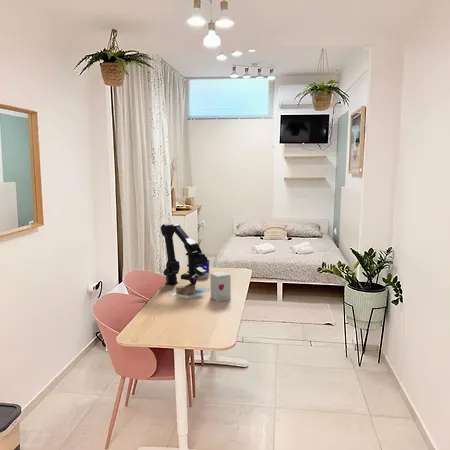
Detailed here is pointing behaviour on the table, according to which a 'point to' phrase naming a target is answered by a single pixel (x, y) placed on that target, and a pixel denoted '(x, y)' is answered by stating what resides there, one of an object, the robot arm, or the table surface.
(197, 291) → the mat
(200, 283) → the table surface
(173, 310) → the table surface
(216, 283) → the supplement box
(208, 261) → the puzzle toy
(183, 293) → the tee
